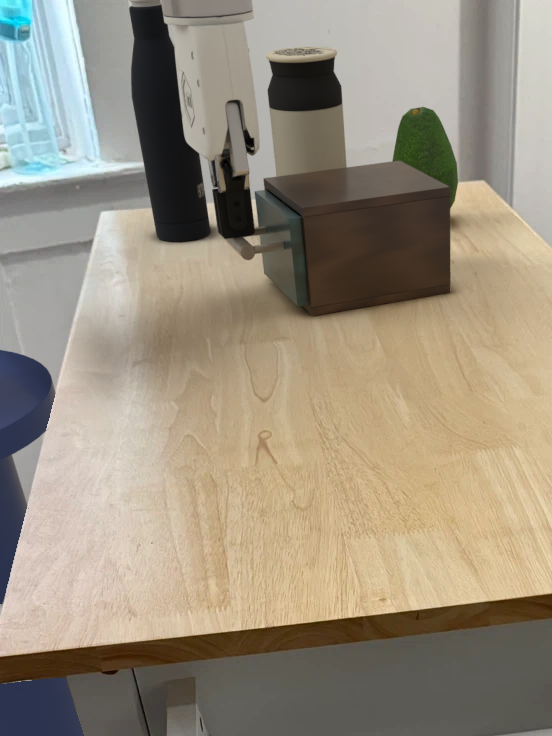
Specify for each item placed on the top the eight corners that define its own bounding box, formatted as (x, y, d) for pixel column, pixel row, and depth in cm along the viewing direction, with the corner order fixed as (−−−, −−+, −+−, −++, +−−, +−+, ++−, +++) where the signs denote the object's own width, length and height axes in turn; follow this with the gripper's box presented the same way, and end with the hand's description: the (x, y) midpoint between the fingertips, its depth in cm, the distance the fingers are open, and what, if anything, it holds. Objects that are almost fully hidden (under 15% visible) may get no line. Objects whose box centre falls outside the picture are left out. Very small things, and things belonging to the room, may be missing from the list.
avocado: (389, 216, 123) (384, 102, 116) (452, 212, 124) (452, 98, 116) (396, 234, 117) (392, 115, 110) (463, 230, 118) (464, 111, 110)
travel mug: (307, 248, 114) (290, 59, 103) (269, 234, 119) (249, 52, 108) (364, 234, 118) (354, 50, 106) (325, 220, 123) (311, 43, 111)
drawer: (254, 314, 96) (242, 225, 91) (223, 280, 104) (211, 196, 99) (427, 285, 100) (425, 199, 95) (385, 254, 109) (381, 174, 104)
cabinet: (312, 316, 97) (302, 207, 91) (274, 279, 106) (263, 178, 100) (450, 292, 101) (450, 186, 95) (403, 258, 110) (399, 160, 104)
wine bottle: (152, 230, 122) (94, -88, 102) (205, 223, 124) (158, -91, 104) (161, 244, 117) (102, -86, 98) (216, 237, 119) (168, -90, 99)
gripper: (144, -5, 89) (180, 221, 101) (182, 11, 78) (218, 262, 90) (227, -11, 91) (253, 211, 103) (275, 3, 80) (298, 250, 92)
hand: (236, 234), depth 96 cm, fingers closed
